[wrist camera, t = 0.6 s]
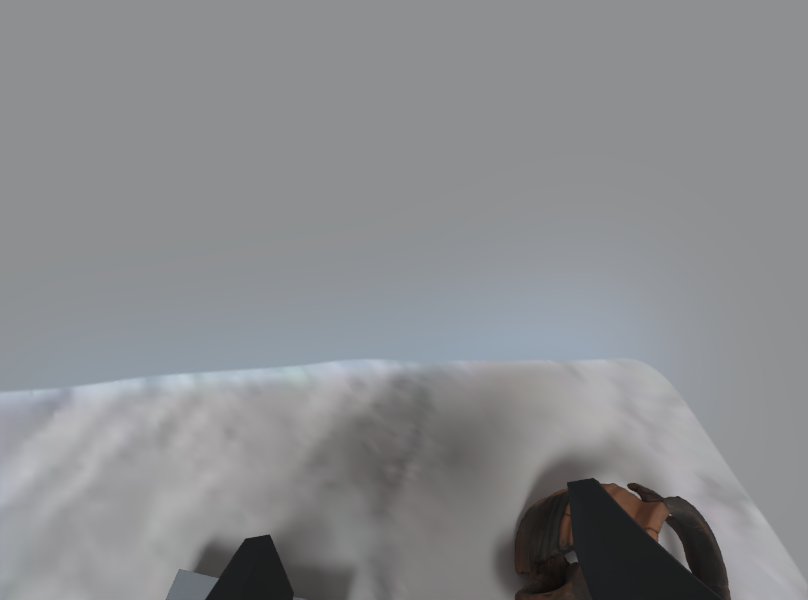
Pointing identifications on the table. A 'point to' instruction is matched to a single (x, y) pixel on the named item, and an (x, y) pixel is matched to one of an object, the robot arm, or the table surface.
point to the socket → (193, 586)
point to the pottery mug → (551, 523)
